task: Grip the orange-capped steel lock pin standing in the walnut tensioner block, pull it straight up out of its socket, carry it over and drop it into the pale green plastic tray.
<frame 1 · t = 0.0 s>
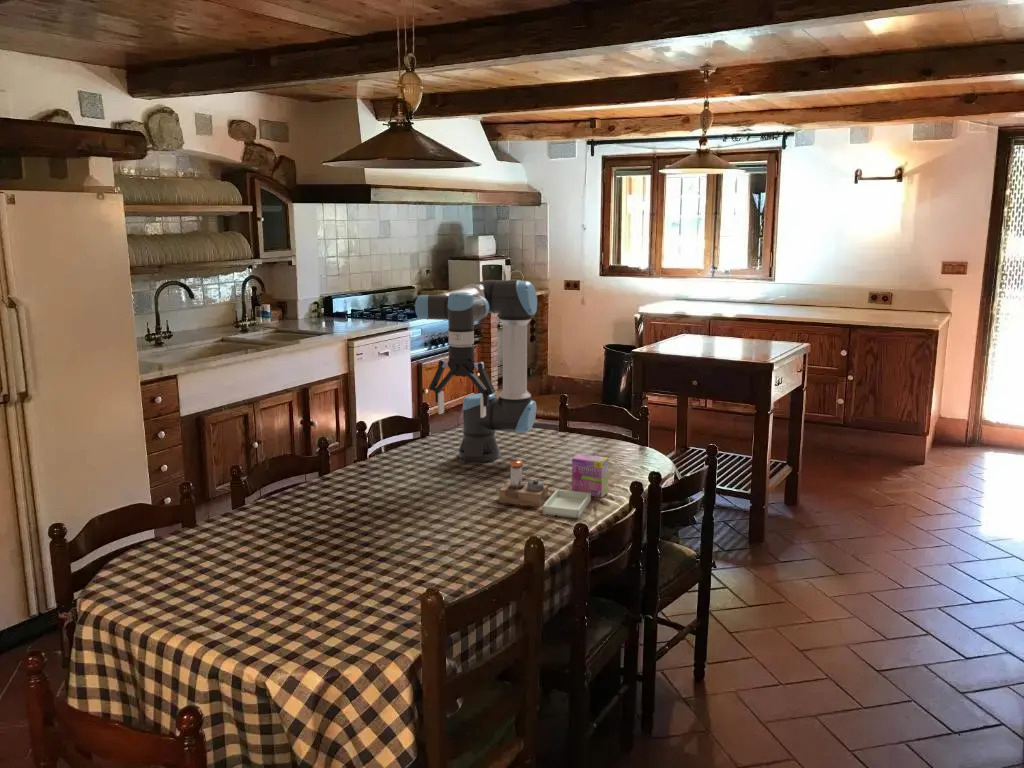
hand: (462, 415, 246), 28 cm above the table, fingers open, 13 cm apart
tensioner: (523, 499, 255), on the table
pin: (516, 499, 256), resting in tensioner
tray: (567, 507, 249), on the table
box: (589, 493, 262), on the table
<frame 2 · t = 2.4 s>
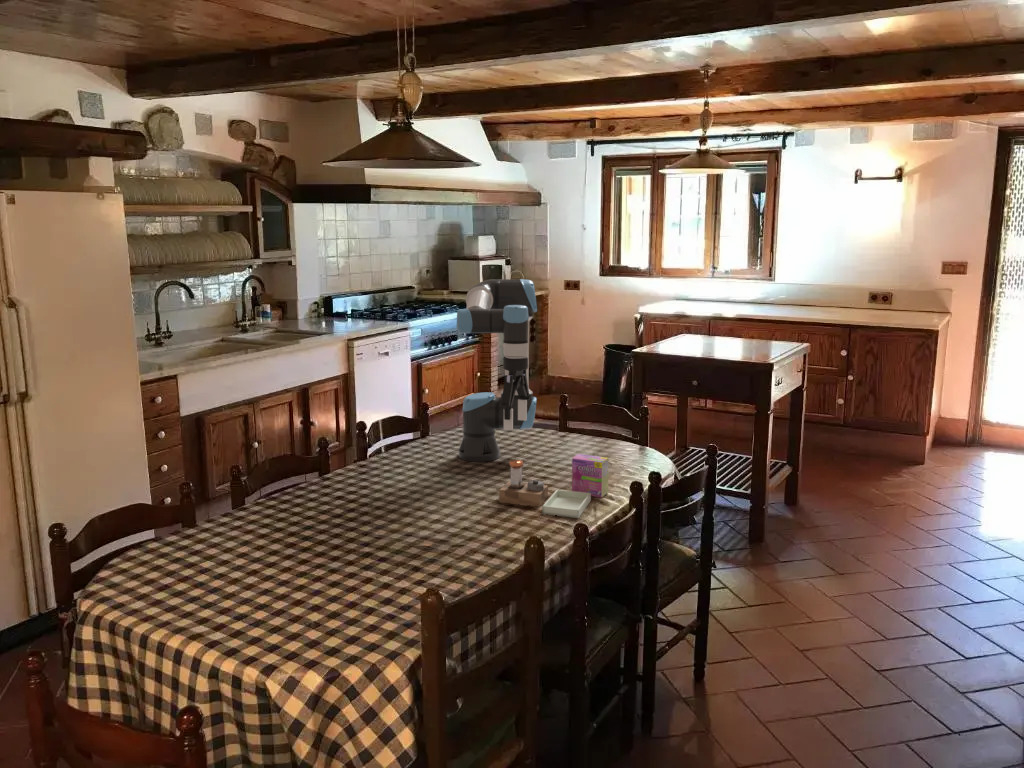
hand: (515, 424, 252), 24 cm above the table, fingers open, 13 cm apart
nothing on the table moved.
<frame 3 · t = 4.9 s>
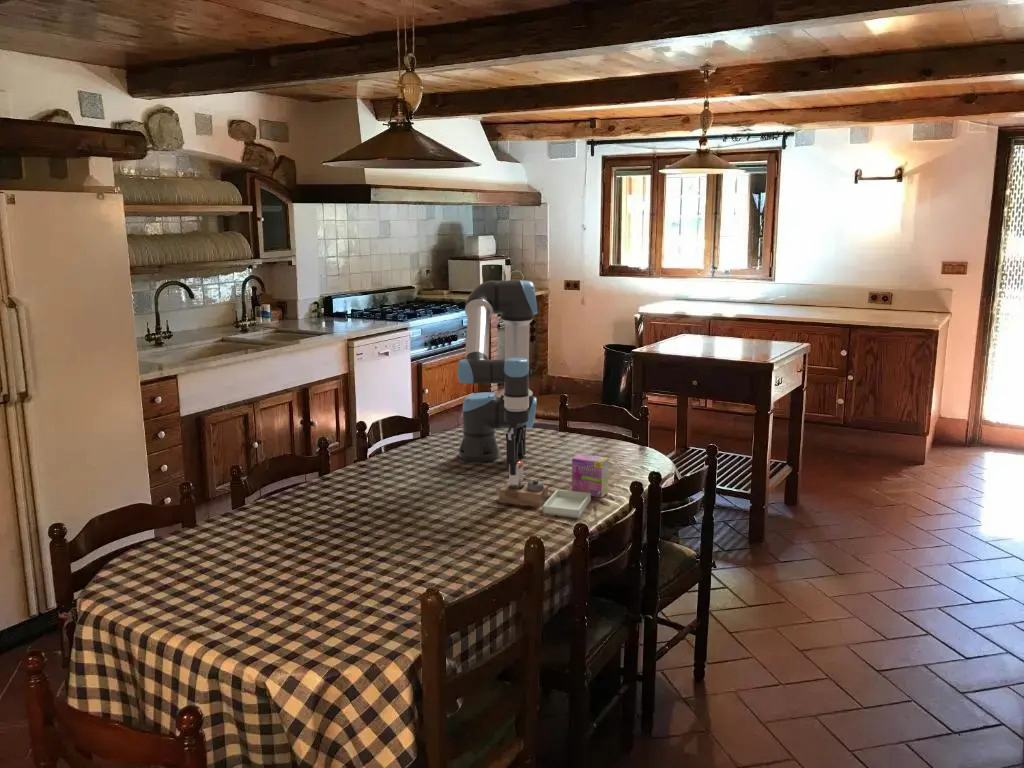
hand: (516, 481, 255), 6 cm above the table, fingers closed on pin, 4 cm apart
pin: (516, 499, 256), resting in tensioner, touching gripper
everything else where it was.
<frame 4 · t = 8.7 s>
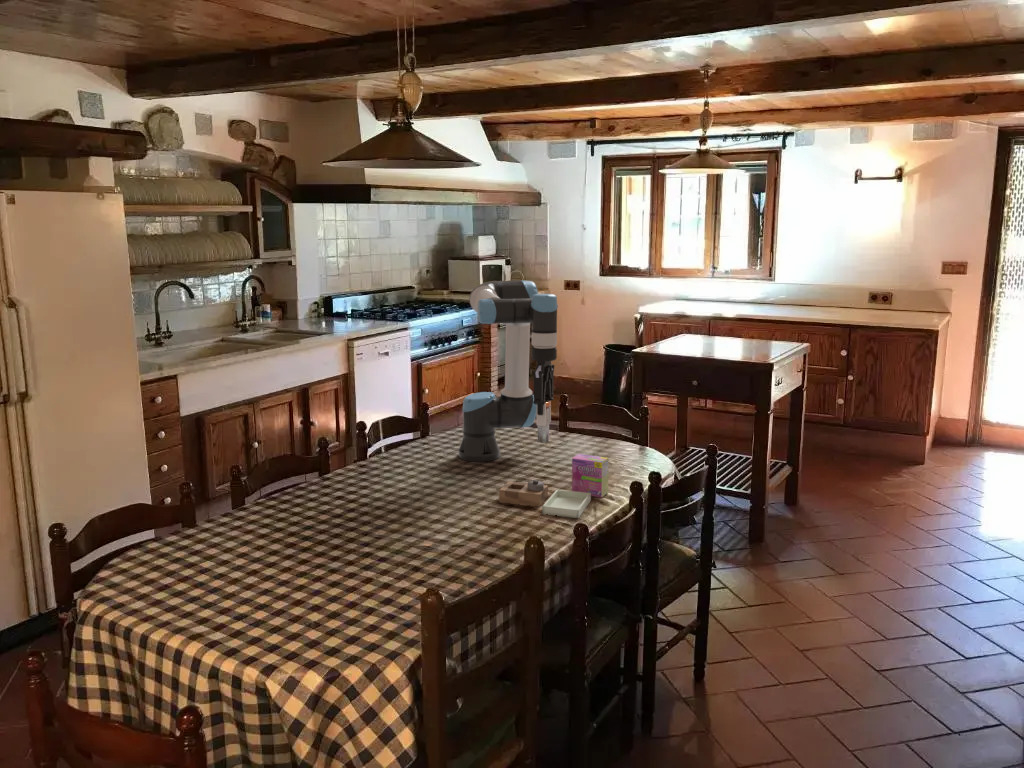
hand: (543, 423, 247), 26 cm above the table, fingers closed on pin, 4 cm apart
pin: (543, 441, 248), point 20 cm above the table, touching gripper
everything else where it was.
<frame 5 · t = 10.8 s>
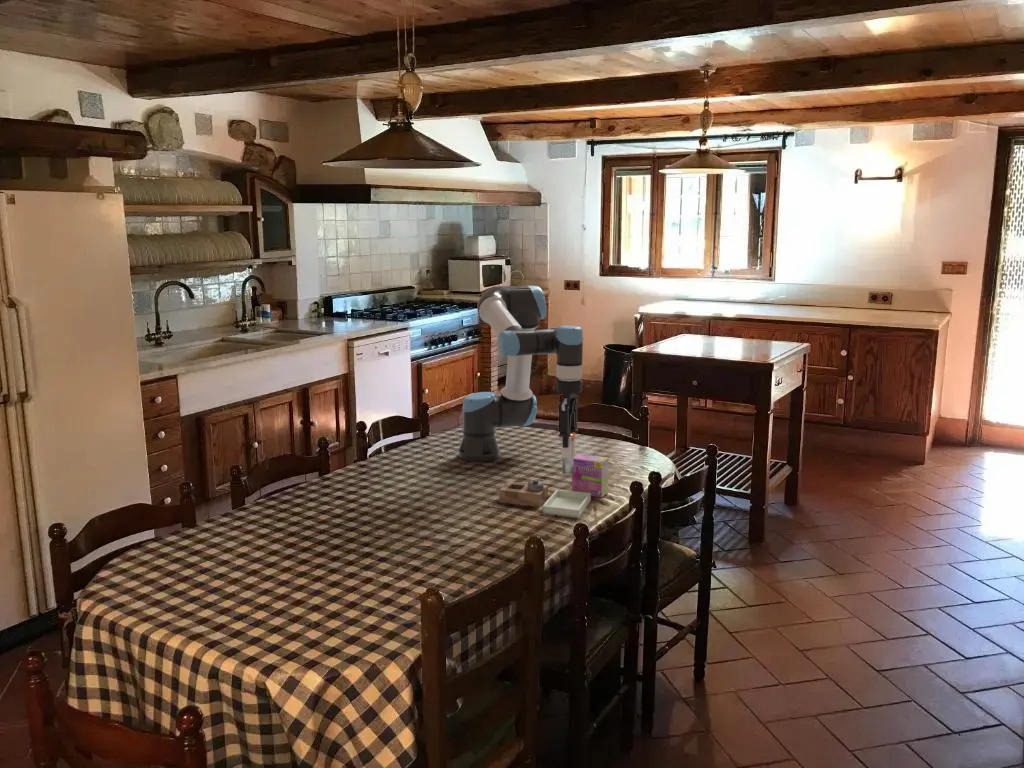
hand: (568, 455, 246), 17 cm above the table, fingers closed on pin, 4 cm apart
pin: (567, 473, 247), point 11 cm above the table, touching gripper
everything else where it was.
when the fingers open (7 cm above the table, at t = 12.7 s): pin stays where it is, resting on tray.
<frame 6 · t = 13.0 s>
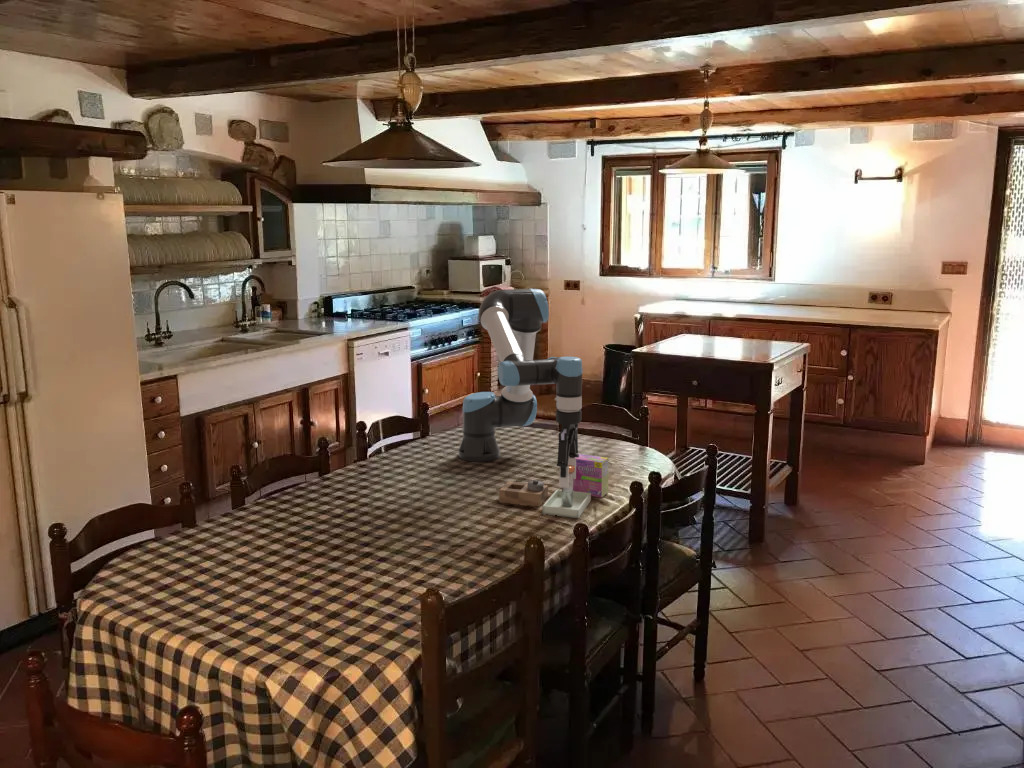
hand: (567, 482, 247), 8 cm above the table, fingers open, 8 cm apart
pin: (567, 505, 249), point 1 cm above the table, touching tray
everything else where it was.
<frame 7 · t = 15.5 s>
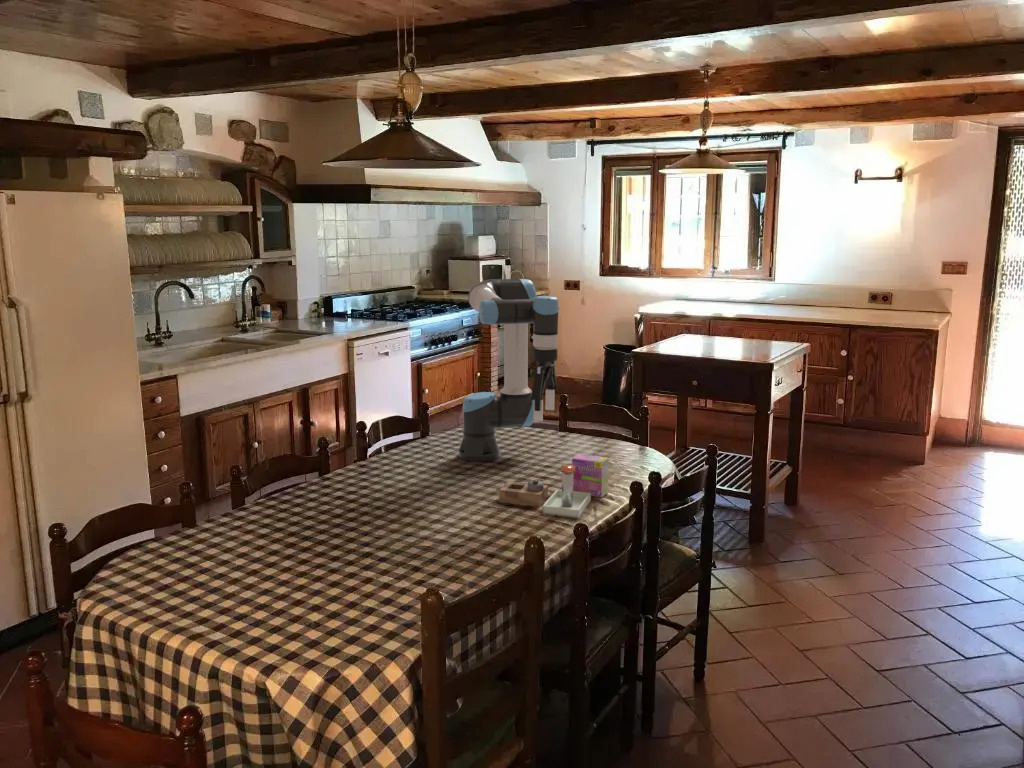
hand: (544, 415, 253), 26 cm above the table, fingers open, 13 cm apart
nothing on the table moved.
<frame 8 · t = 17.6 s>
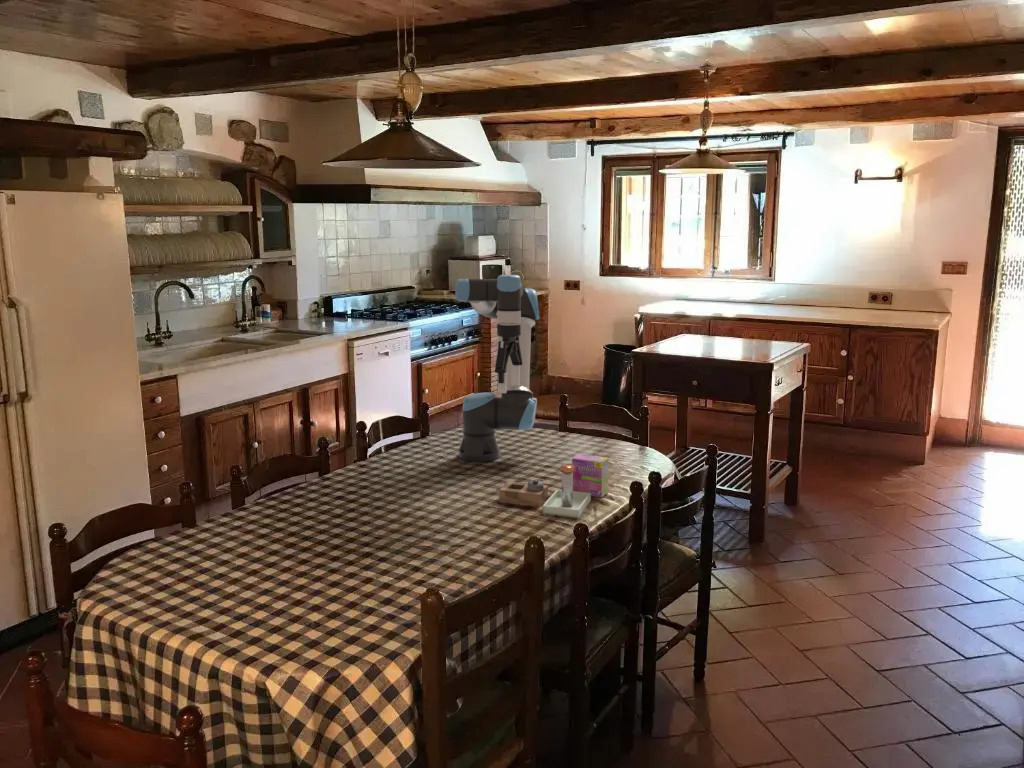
hand: (508, 388, 266), 32 cm above the table, fingers open, 13 cm apart
nothing on the table moved.
at the end: pin inside the target area on the tray (0.1 cm from its centre), point 0.6 cm above the tray's base; the gripper is holding nothing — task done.
